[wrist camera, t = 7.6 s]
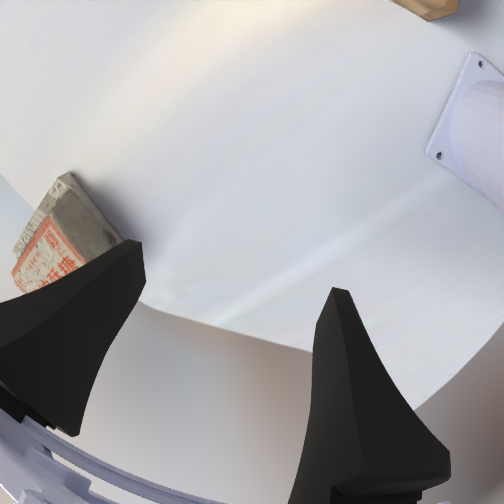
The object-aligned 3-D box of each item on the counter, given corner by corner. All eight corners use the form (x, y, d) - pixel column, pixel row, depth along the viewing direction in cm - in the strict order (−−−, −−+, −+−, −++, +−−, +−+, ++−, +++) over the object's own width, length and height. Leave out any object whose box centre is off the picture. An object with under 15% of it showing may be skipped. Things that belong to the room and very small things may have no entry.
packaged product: (33, 190, 17) (112, 286, 21) (71, 165, 21) (139, 250, 25) (-5, 267, 25) (46, 325, 30) (18, 244, 29) (65, 299, 33)
